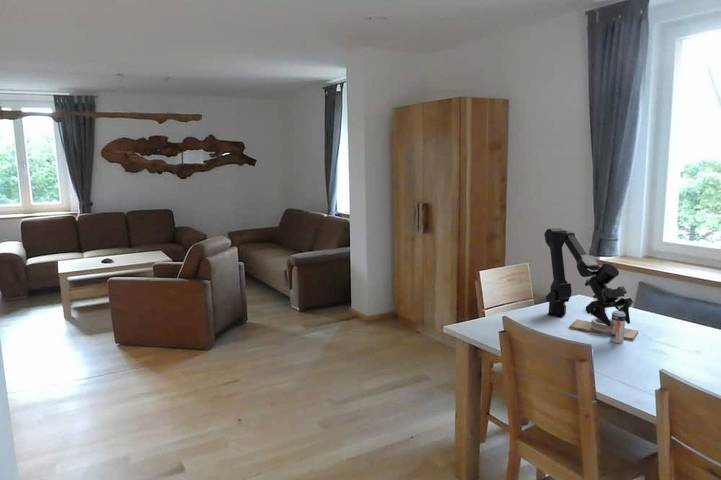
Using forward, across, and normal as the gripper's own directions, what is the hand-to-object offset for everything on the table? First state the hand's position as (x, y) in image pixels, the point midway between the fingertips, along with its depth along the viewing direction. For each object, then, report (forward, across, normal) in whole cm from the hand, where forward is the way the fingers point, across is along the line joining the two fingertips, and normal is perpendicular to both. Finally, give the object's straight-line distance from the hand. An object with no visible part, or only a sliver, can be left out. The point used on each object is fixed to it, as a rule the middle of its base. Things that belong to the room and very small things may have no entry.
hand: (619, 324), depth 197 cm
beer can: (+4, 0, +6) cm, 7 cm away
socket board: (-4, +4, +14) cm, 15 cm away
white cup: (-20, +24, +31) cm, 44 cm away
